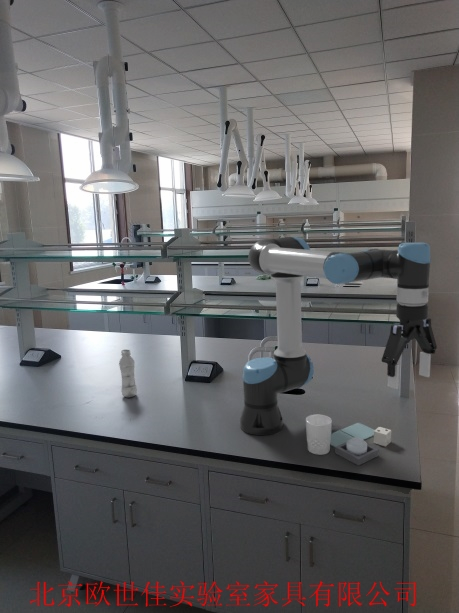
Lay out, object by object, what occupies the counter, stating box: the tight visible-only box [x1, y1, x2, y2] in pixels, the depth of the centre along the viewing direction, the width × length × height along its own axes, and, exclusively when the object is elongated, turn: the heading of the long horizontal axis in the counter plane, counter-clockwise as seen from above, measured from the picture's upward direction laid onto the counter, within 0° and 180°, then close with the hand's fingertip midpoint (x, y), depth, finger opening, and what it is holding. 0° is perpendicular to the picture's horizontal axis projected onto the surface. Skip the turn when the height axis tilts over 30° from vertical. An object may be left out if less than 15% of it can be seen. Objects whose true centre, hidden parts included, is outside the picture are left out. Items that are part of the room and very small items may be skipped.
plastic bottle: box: [118, 348, 138, 398], centre depth 186 cm, size 6×7×20 cm
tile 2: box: [339, 422, 376, 441], centre depth 149 cm, size 9×9×1 cm
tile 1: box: [330, 429, 354, 448], centre depth 144 cm, size 9×9×1 cm
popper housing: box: [334, 442, 380, 466], centre depth 135 cm, size 9×9×2 cm
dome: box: [346, 437, 368, 456], centre depth 134 cm, size 6×6×5 cm
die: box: [373, 426, 392, 448], centre depth 141 cm, size 4×4×4 cm
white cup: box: [305, 413, 333, 456], centre depth 138 cm, size 8×8×10 cm
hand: (409, 381), depth 118 cm, fingers open, 13 cm apart
